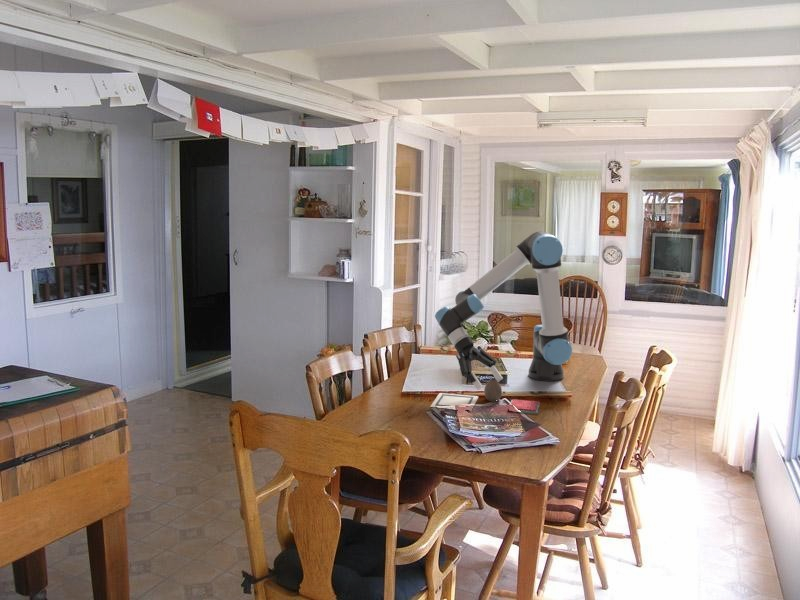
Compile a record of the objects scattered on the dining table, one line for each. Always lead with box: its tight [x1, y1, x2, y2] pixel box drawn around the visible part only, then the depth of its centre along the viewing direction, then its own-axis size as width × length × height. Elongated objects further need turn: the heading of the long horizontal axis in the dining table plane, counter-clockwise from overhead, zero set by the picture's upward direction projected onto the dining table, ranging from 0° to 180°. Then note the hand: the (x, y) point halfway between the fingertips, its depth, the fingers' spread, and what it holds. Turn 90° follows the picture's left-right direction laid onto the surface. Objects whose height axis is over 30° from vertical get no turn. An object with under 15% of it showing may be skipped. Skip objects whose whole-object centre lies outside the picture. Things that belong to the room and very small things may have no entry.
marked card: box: [429, 392, 479, 408], centre depth 270 cm, size 16×16×1 cm
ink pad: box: [510, 398, 541, 415], centre depth 264 cm, size 11×11×1 cm
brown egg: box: [483, 377, 503, 403], centre depth 272 cm, size 7×7×9 cm
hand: (490, 384), depth 272 cm, fingers open, 13 cm apart
